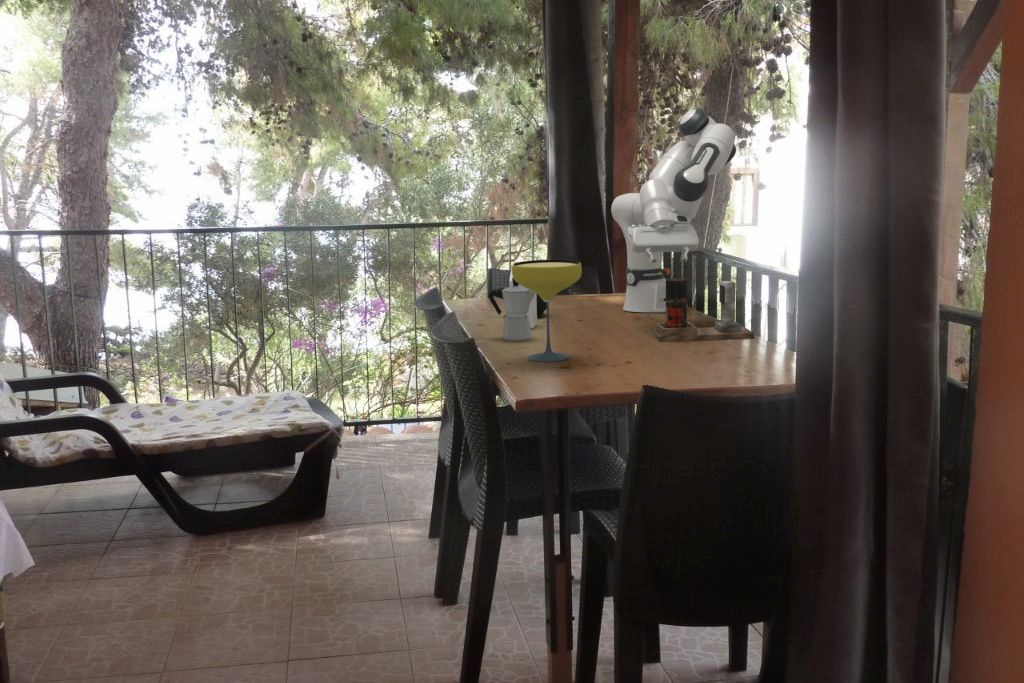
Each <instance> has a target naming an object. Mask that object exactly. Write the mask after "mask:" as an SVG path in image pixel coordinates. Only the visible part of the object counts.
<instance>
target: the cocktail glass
mask: <svg viewBox="0 0 1024 683" xmlns="http://www.w3.org/2000/svg"><path fill="white" fill-rule="evenodd" d="M582 271H583V269H582V263H581V262H580V261H578V260H573V259H570V260H569V259H535V260H533V259H532V260H525V261H524V260H523V261H517V262H514V263H512V276H513V279H514V280H515V281H516V282H517V283H519V284H520V285H522V286H523V287H525V288H527V289H529V290H531V291H533V292H535V293H537V294H538V295H539V296H540V297H541V298H542V300H543V301H544V302H546V345H545V346H546V348H545V351H544V352H539V353H533V354H531V355H529V356H528V357H527V358H528V360H530V361H533V362H538V363H556V362H562V361H566V360H568V359H570V355H568V354H566V353H561V352H554V351H553V350H552V347H551V338H550V308H549V307H550V303H551V302H552V301H553V299H554V298H555V297H556V296H557V294H559V293H560V292H561V291H563V290H566V289H567V288H569V287H570V286H572V285H574V284H575V283H576V282H578V281H579V280H580V278H581V277H582Z"/></svg>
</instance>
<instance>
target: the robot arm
mask: <svg viewBox="0 0 1024 683" xmlns="http://www.w3.org/2000/svg"><path fill="white" fill-rule="evenodd" d="M678 130H679V132H680V134H681V136H682V137H684V138H685V140H681V141H678V142H677V143H675V144H674V145H673V146H672V147H671V148H670V149H669V150H668V151H667V152H666V153H665V154H664V155H663V157H662V158H661V159H660V160H659V161H658V163H657V164H656V166H655V167H654V168H653V170H652V171H651V172H650V173H649V176H648V180H647V181H645V182H644V183H643V184H642V186H641V187H640V190H639V192H629V193H624V194H621V195H618V196H616V197H615V199H614V200H613V201H612V204H611V208H610V209H611V210H610V212H611V215H612V218H613V220H614V222H616V223H617V224H618V226H619V227H620V229H621V231H622V233H623V236H624V239H625V244H626V253H627V254H626V256H627V257H626V258H627V267H626V270H625V278H626V291H625V299H624V303H623V307H622V310H623V311H626V312H631V313H632V312H633V313H635V312H636V313H666V278H665V275H670V274H671V270H670V268H666V267H664V268H663V267H661V266H662V265H661V263H662V262H661V261H662V260H661V256H662V255H661V253H673V252H674V253H675V252H676V253H677V252H680V253H681V252H682V254H681V256H680V258H679V259H680V262H681V263H687V261H688V253H689V252H695V251H697V249H698V247H699V245H700V240H699V237H698V236H699V235H698V234H697V231H696V228H695V227H694V226H693V225H692V224H691V223H692V220H693V219H695V217H696V216H697V212H698V210H699V208H700V205H701V202H702V200H703V198H704V195H705V193H706V192H707V189H708V186H709V177H708V176H712V175H716V174H718V173H719V172H720V171H721V170H722V169H723V168H724V166H726V165H728V164H729V163H730V162H731V161H732V160H733V158H734V157H735V156H736V153H737V147H736V145H735V139H736V136H735V132H734V130H733V129H732V128H731V126H729V125H727V124H725V123H717V122H716V121H715V120H714V119H713V118H712V117H710V116H709V114H708V112H706V111H705V110H704V109H702V108H701V107H699V108H693V109H691V110H689V111H688V112H686V113H685V114H683V116H682V117H681V119H680V121H679V123H678Z"/></svg>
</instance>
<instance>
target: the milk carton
mask: <svg viewBox="0 0 1024 683" xmlns="http://www.w3.org/2000/svg"><path fill="white" fill-rule="evenodd" d="M512 278H513V276H512V266H511V267H510V275H509V279H508V280H509V282H508V283H509V284H508V285H509V286H508V287H511V286H513V282H512ZM518 286H522V285H520V284H519V285H518ZM522 287H523V286H522ZM527 316H528V318H529V323H530V328H531V329H534V328H535V327H536V326H537V325H538V317H537V298H536V293H535V294H534V296H533V298H532V300H531V302H530V304H529V310H528V312H527Z"/></svg>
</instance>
